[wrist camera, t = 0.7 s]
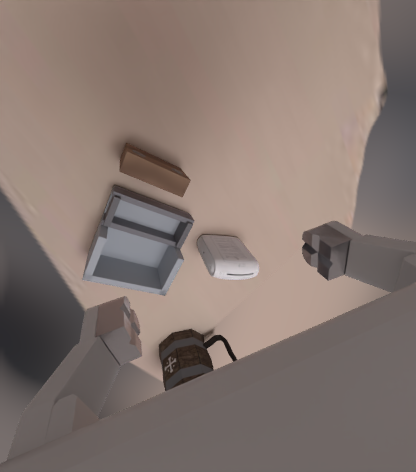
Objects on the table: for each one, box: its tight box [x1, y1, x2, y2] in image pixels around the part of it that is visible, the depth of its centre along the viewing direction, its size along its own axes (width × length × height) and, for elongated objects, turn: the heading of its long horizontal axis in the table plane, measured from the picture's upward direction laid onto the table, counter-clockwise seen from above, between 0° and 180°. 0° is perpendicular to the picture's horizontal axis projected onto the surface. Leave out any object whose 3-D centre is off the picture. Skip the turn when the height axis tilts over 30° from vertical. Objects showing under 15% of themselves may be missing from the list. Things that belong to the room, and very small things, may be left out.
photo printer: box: [197, 235, 259, 280], centre depth 49 cm, size 10×4×12 cm, turn 76°
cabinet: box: [82, 185, 194, 296], centre depth 44 cm, size 15×15×8 cm
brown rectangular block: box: [120, 143, 191, 197], centre depth 39 cm, size 3×10×8 cm, turn 61°
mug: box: [159, 329, 237, 391], centre depth 62 cm, size 20×14×15 cm
